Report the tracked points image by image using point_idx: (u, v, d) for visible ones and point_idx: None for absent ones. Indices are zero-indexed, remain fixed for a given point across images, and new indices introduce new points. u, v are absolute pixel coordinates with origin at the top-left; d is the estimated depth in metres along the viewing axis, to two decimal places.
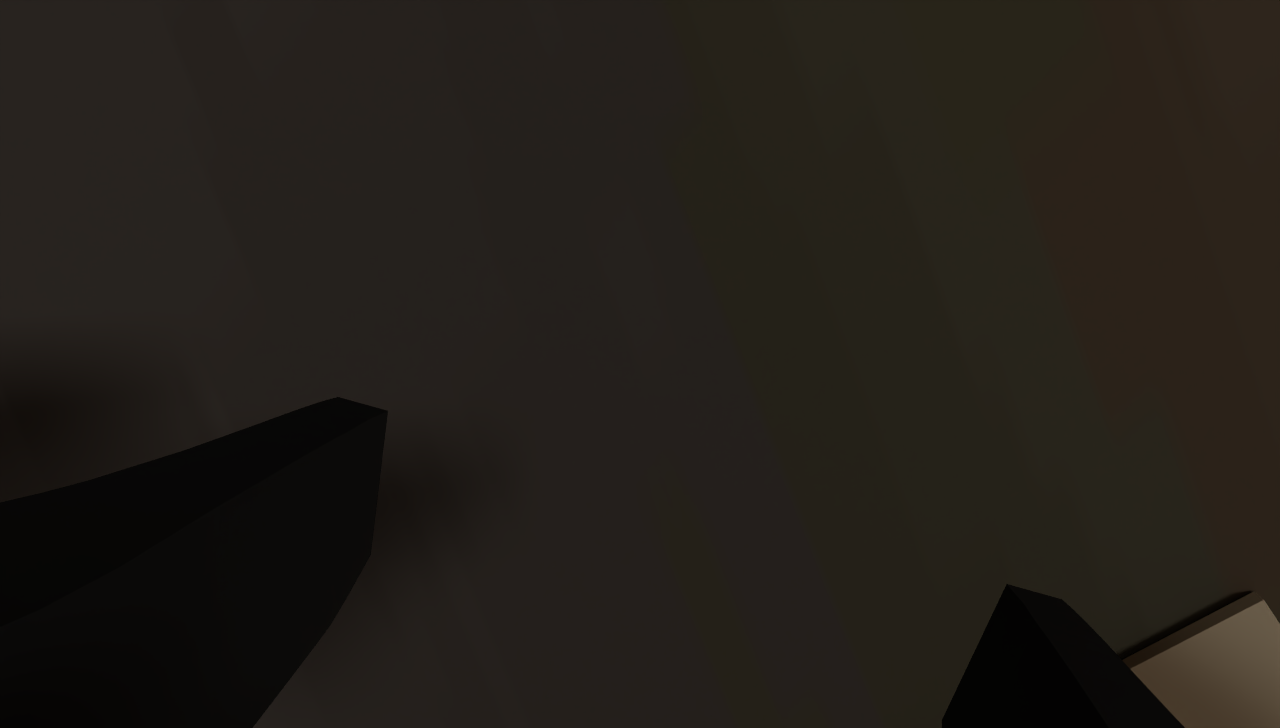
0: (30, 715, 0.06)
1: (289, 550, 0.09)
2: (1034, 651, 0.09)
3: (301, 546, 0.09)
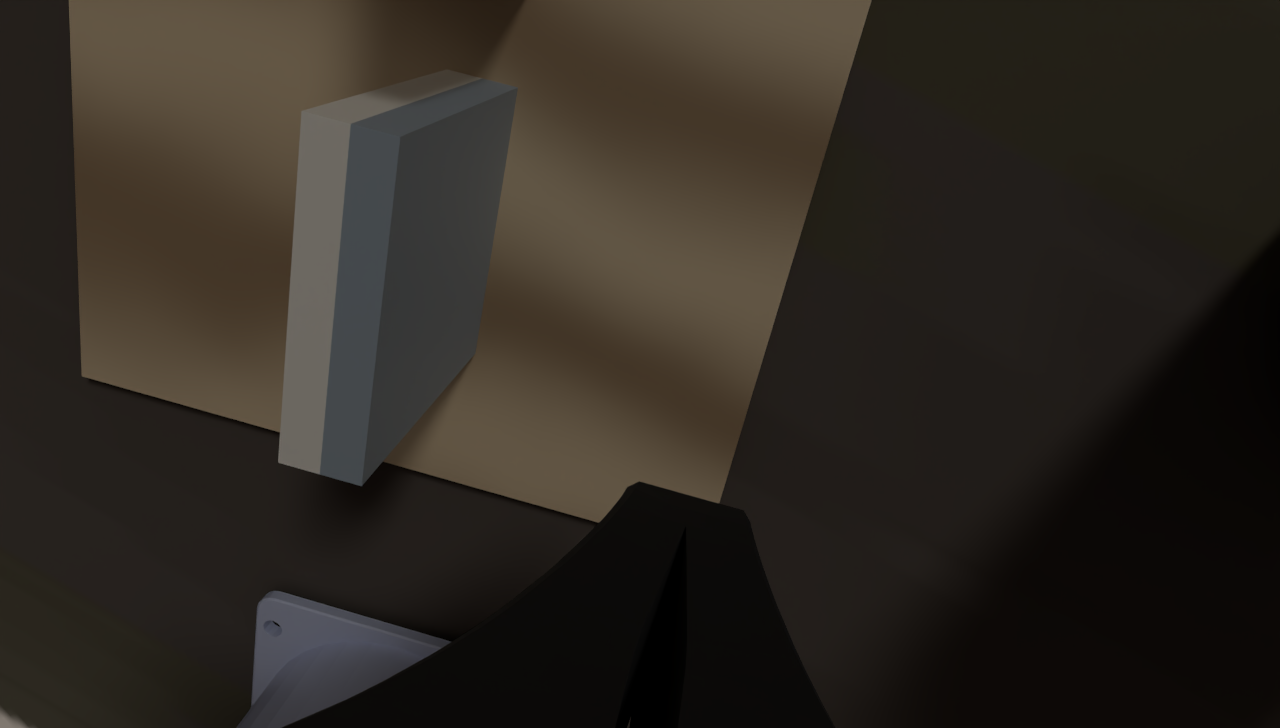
0: None
1: (643, 654, 0.09)
2: (681, 550, 0.09)
3: (646, 646, 0.09)
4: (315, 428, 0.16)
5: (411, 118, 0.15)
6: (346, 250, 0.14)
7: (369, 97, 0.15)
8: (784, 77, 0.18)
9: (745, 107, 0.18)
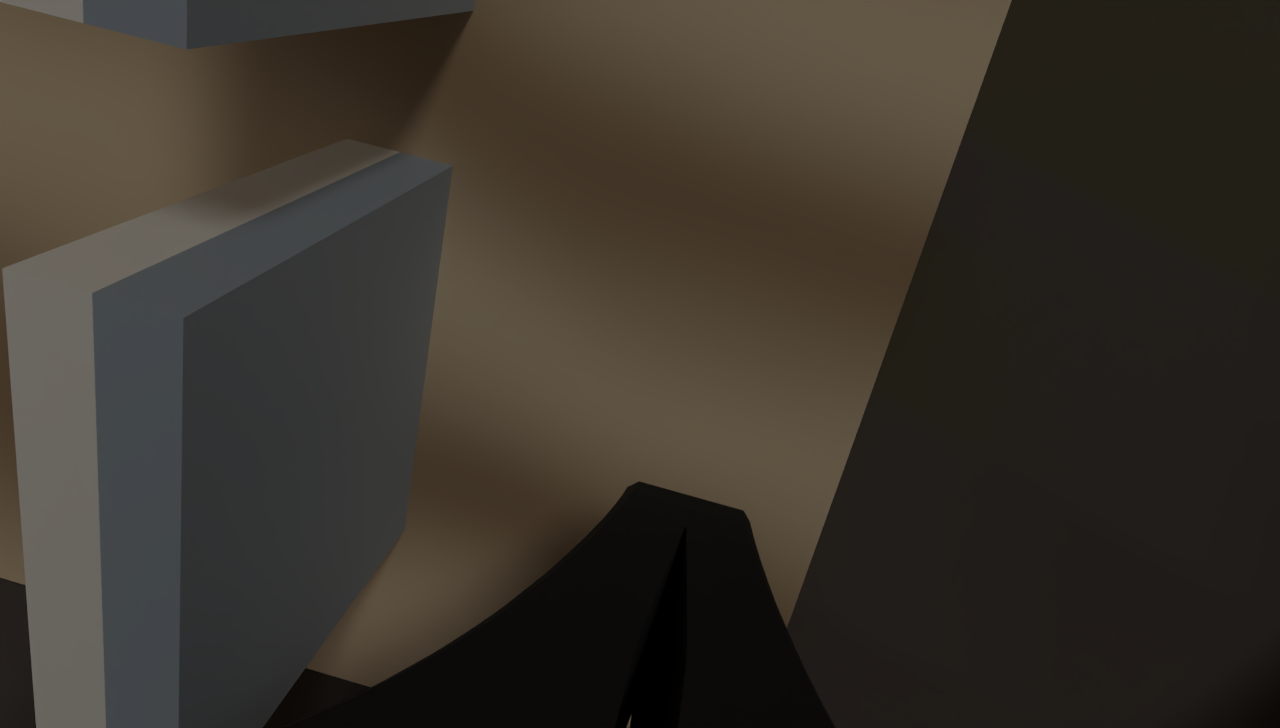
0: None
1: (643, 654, 0.09)
2: (681, 550, 0.09)
3: (645, 646, 0.09)
4: None
5: (233, 260, 0.08)
6: (110, 501, 0.08)
7: (173, 215, 0.09)
8: (856, 155, 0.12)
9: (796, 199, 0.12)
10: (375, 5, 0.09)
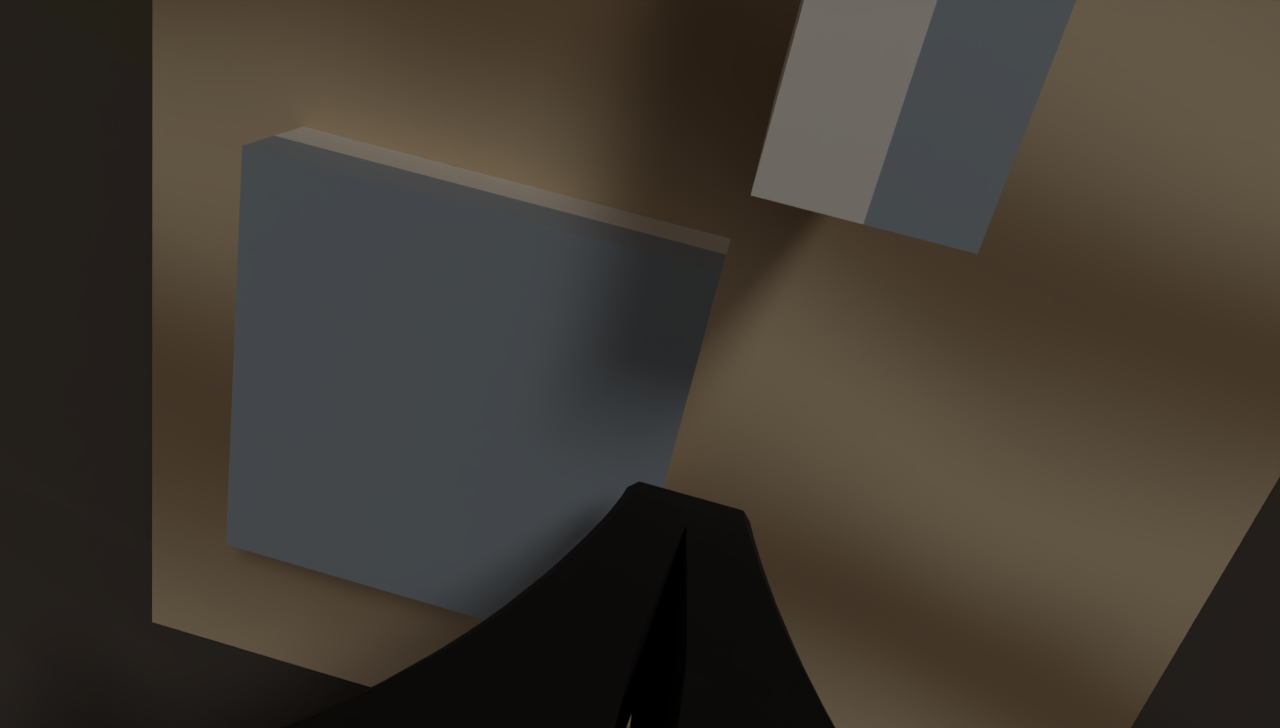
0: None
1: (643, 654, 0.09)
2: (681, 550, 0.09)
3: (646, 646, 0.09)
4: None
5: (353, 167, 0.12)
6: None
7: (428, 163, 0.12)
8: None
9: (1217, 309, 0.12)
10: None
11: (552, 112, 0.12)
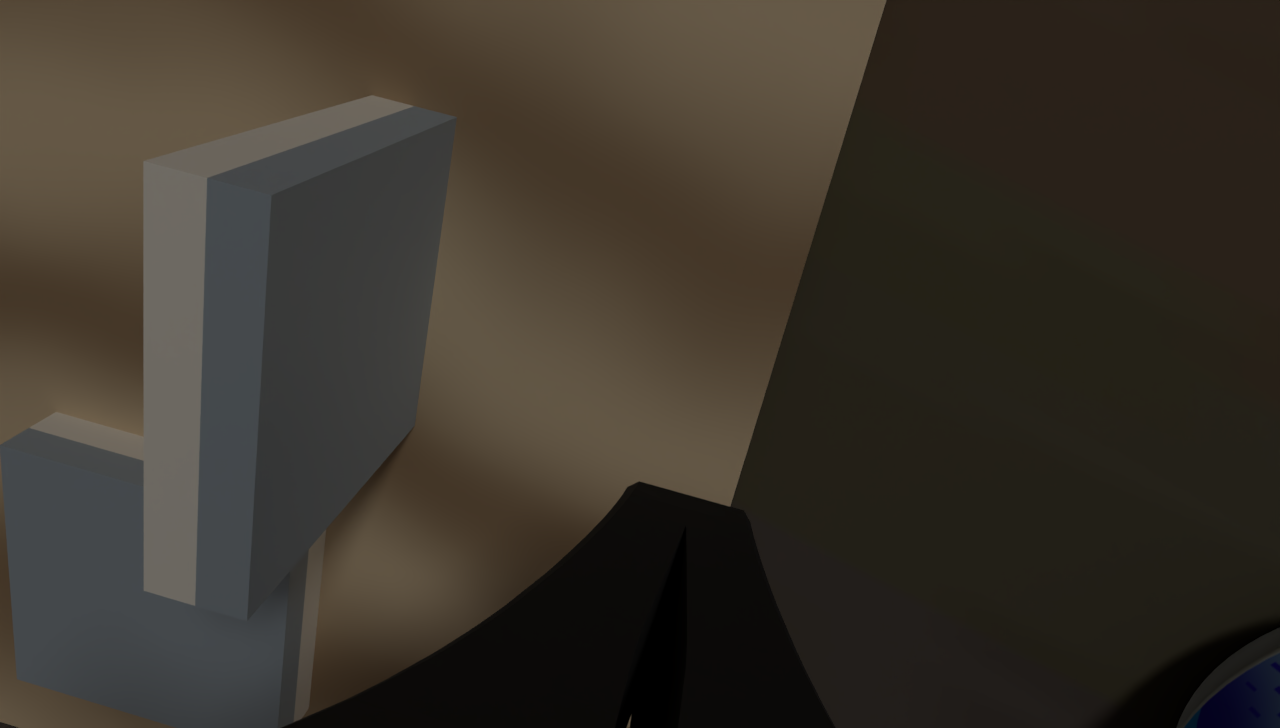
0: None
1: (643, 654, 0.09)
2: (681, 551, 0.09)
3: (646, 646, 0.09)
4: None
5: (73, 454, 0.18)
6: None
7: (134, 439, 0.19)
8: None
9: None
10: (347, 497, 0.15)
11: None
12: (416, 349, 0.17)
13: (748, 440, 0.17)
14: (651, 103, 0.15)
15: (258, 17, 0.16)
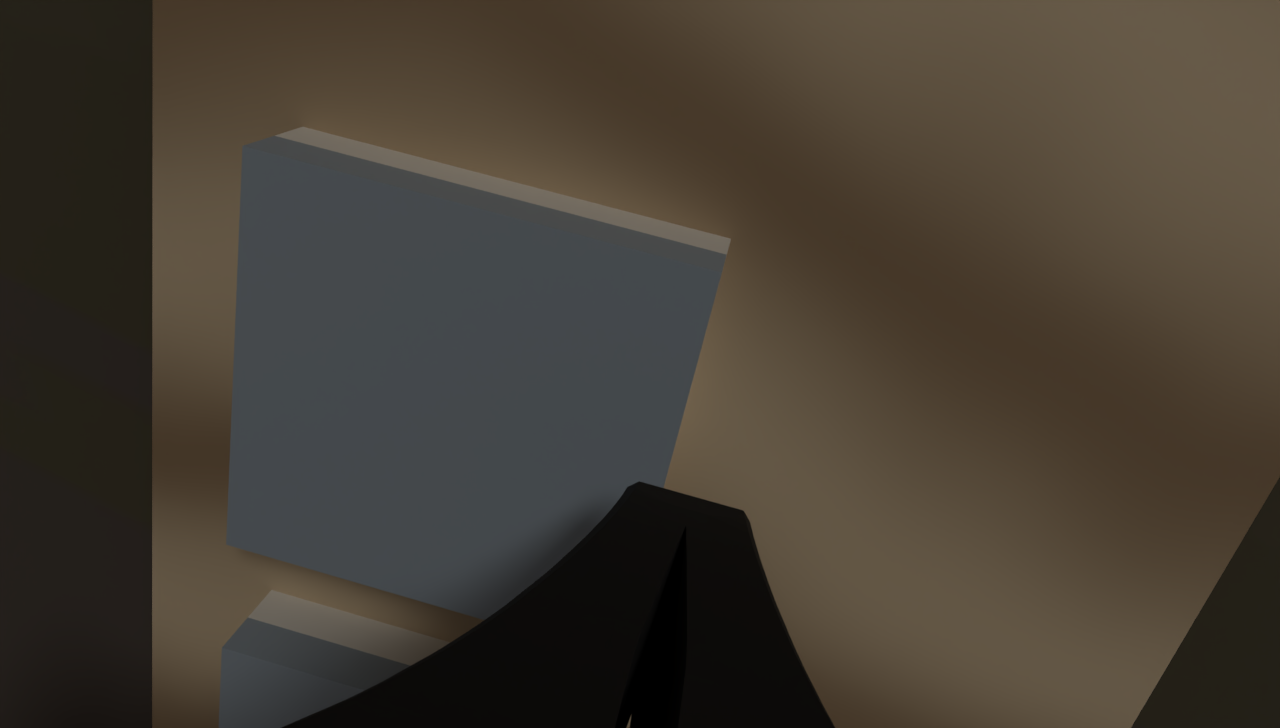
0: None
1: (643, 653, 0.09)
2: (681, 551, 0.09)
3: (646, 646, 0.09)
4: None
5: (309, 656, 0.15)
6: None
7: (370, 627, 0.16)
8: None
9: None
10: (420, 591, 0.14)
11: None
12: None
13: (1170, 656, 0.14)
14: (1118, 259, 0.12)
15: (596, 143, 0.12)
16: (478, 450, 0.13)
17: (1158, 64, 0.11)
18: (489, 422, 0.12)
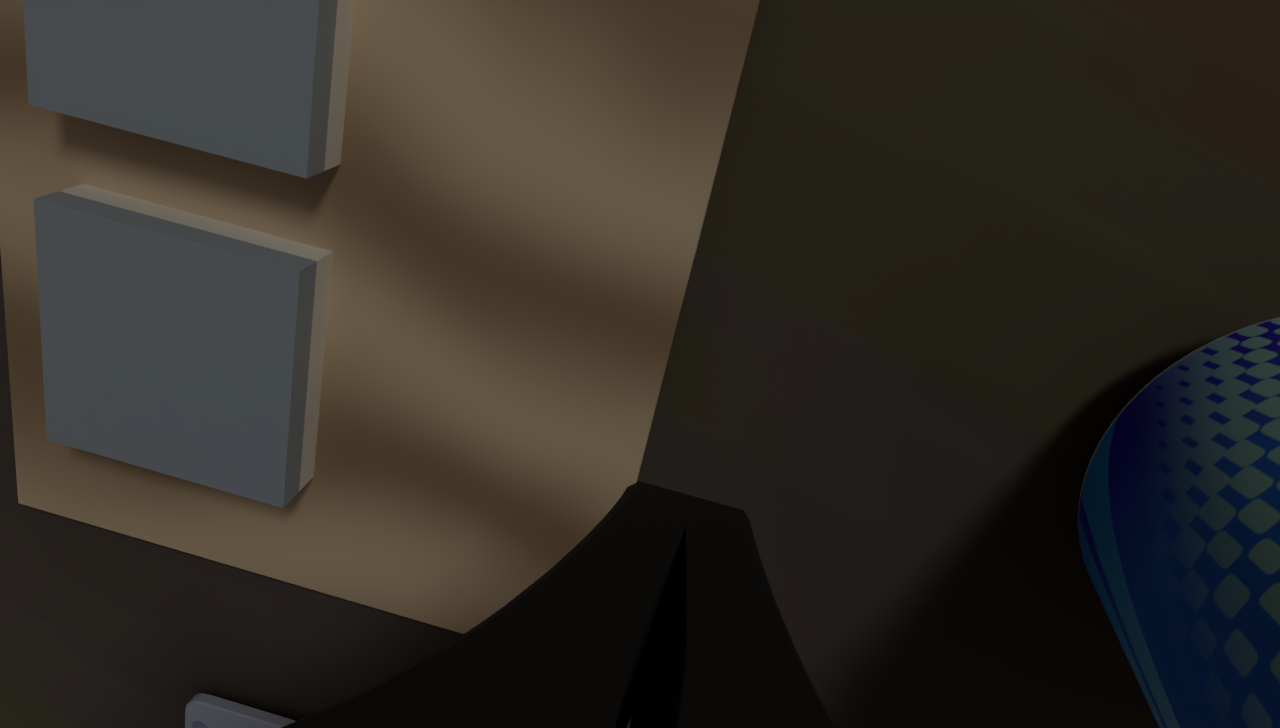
0: None
1: (643, 653, 0.09)
2: (680, 550, 0.09)
3: (646, 646, 0.09)
4: None
5: (100, 210, 0.20)
6: None
7: (154, 206, 0.21)
8: (634, 268, 0.20)
9: (601, 293, 0.20)
10: (166, 132, 0.19)
11: (223, 177, 0.21)
12: (290, 79, 0.18)
13: (711, 183, 0.19)
14: None
15: None
16: (191, 5, 0.18)
17: None
18: None
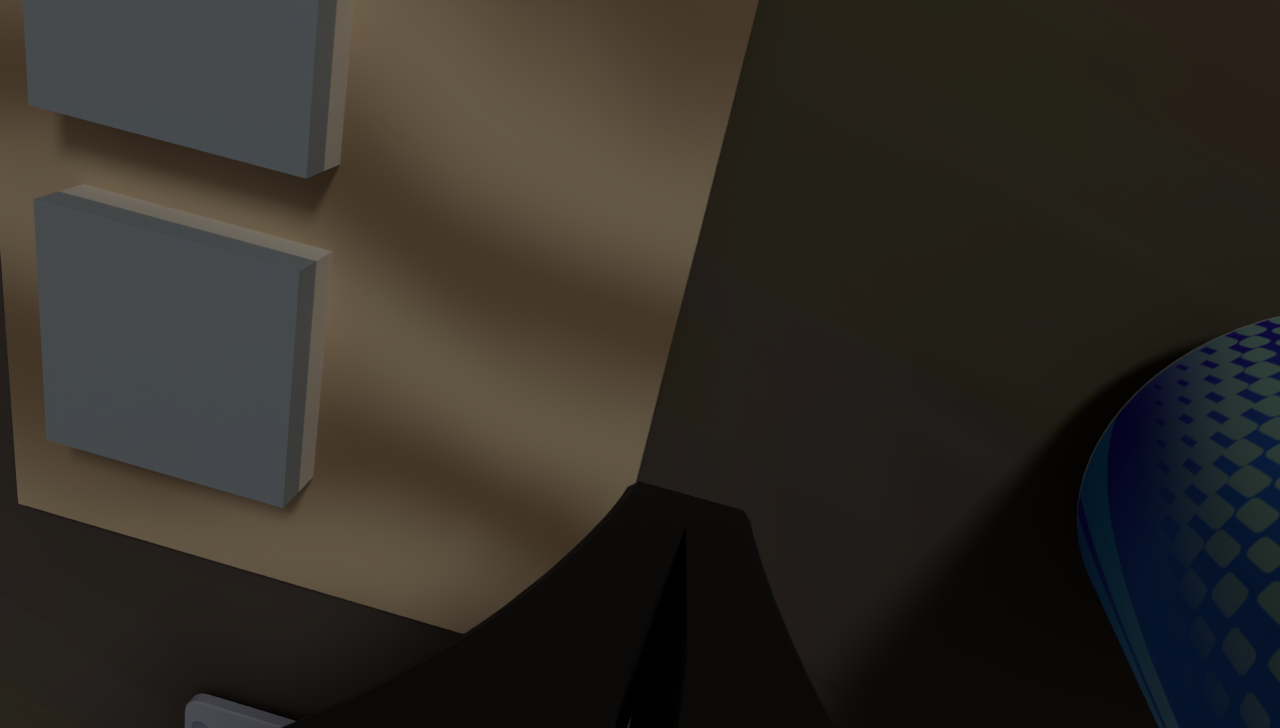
0: None
1: (643, 654, 0.09)
2: (681, 551, 0.09)
3: (646, 646, 0.09)
4: None
5: (100, 210, 0.20)
6: None
7: (154, 206, 0.21)
8: (633, 268, 0.20)
9: (601, 293, 0.20)
10: (165, 132, 0.19)
11: (222, 177, 0.21)
12: (289, 79, 0.18)
13: (710, 182, 0.19)
14: None
15: None
16: (191, 5, 0.18)
17: None
18: None
